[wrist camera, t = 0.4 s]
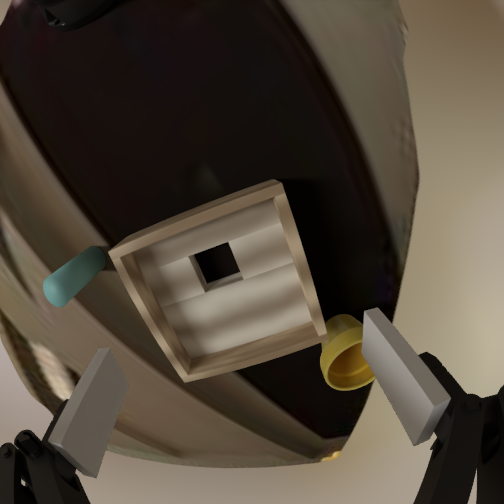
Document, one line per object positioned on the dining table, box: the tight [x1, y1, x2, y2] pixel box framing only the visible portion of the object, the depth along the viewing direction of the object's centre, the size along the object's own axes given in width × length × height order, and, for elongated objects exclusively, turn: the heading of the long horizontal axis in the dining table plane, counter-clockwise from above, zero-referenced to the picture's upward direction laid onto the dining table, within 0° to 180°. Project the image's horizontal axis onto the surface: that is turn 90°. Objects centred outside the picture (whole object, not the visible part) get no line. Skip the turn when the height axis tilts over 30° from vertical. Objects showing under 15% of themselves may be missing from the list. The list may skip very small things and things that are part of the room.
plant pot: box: [320, 314, 376, 390], centre depth 40 cm, size 10×10×10 cm
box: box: [108, 179, 329, 382], centre depth 37 cm, size 22×22×7 cm
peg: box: [43, 246, 106, 307], centre depth 32 cm, size 4×4×12 cm
